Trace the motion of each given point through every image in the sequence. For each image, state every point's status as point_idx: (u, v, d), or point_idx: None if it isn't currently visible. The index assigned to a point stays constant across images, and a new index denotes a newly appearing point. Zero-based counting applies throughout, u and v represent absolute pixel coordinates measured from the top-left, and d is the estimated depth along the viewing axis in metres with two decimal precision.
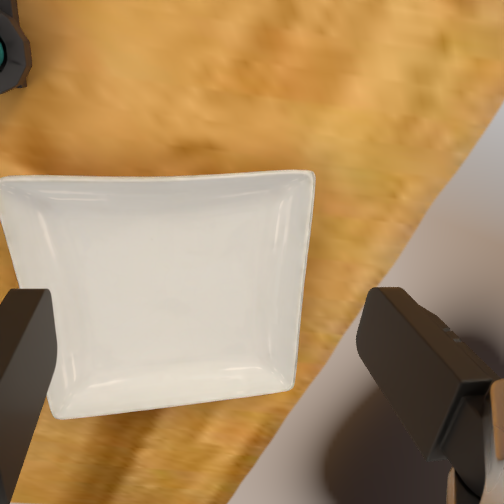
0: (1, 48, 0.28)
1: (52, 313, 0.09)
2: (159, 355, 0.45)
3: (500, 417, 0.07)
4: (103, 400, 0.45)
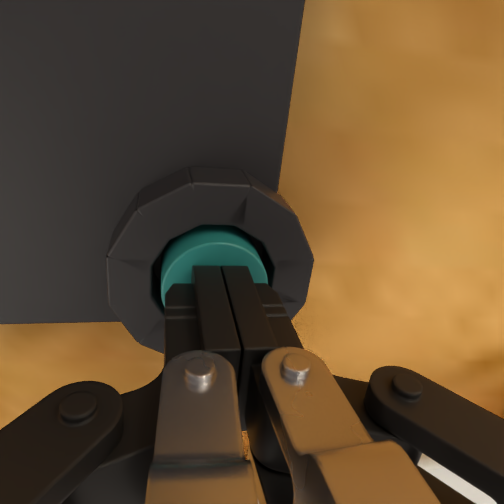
0: None
1: None
2: None
3: (281, 399, 0.06)
4: None
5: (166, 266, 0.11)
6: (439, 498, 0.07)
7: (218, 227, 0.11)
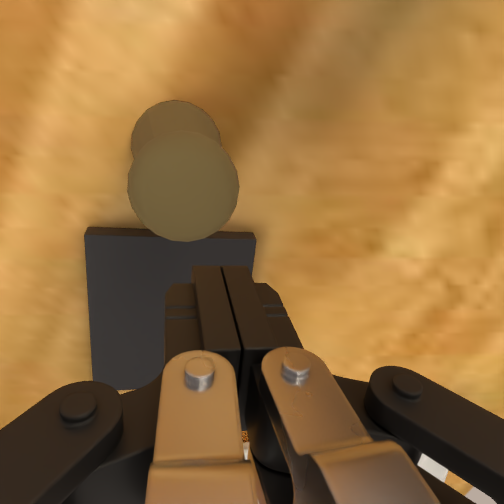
0: None
1: None
2: None
3: (281, 399, 0.06)
4: None
5: None
6: (439, 498, 0.07)
7: None
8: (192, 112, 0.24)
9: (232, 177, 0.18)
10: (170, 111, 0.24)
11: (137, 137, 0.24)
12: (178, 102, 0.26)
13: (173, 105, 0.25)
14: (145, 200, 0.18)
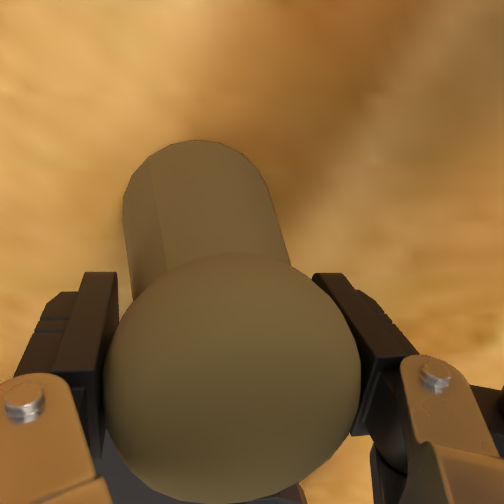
0: None
1: (117, 295, 0.10)
2: None
3: (413, 396, 0.07)
4: None
5: None
6: None
7: None
8: (229, 167, 0.14)
9: (357, 377, 0.07)
10: (191, 168, 0.13)
11: (131, 215, 0.13)
12: (202, 144, 0.15)
13: (195, 152, 0.14)
14: (145, 456, 0.07)
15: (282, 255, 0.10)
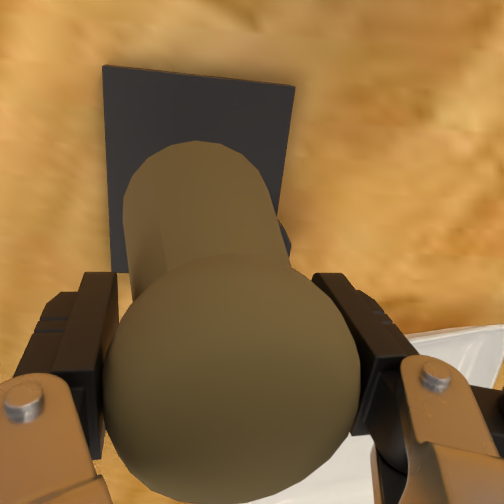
0: None
1: (117, 295, 0.10)
2: (327, 476, 0.47)
3: (413, 396, 0.07)
4: None
5: None
6: None
7: None
8: (229, 167, 0.14)
9: (357, 378, 0.07)
10: (191, 169, 0.13)
11: (131, 215, 0.13)
12: (202, 145, 0.15)
13: (195, 153, 0.14)
14: (145, 457, 0.07)
15: (282, 256, 0.10)
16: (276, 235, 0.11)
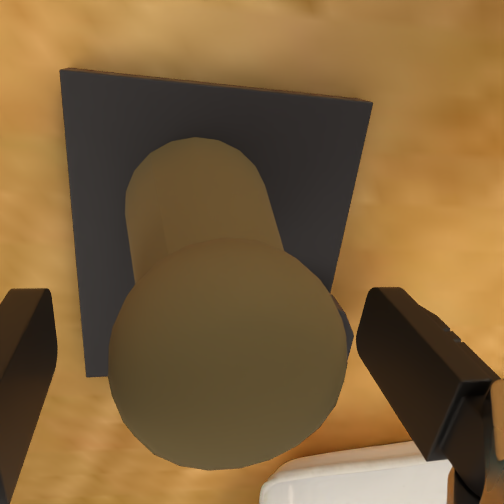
0: None
1: (52, 313, 0.09)
2: None
3: (500, 417, 0.07)
4: None
5: None
6: None
7: None
8: (227, 162, 0.14)
9: (342, 350, 0.08)
10: (190, 163, 0.14)
11: (133, 207, 0.14)
12: (201, 141, 0.16)
13: (194, 148, 0.15)
14: (148, 420, 0.07)
15: (276, 243, 0.11)
16: (271, 224, 0.12)
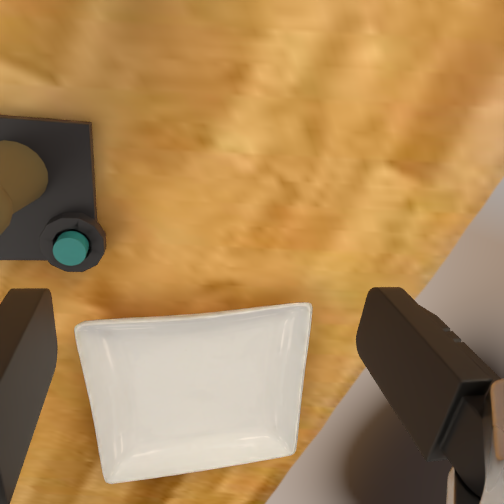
0: (88, 244, 0.40)
1: (52, 313, 0.09)
2: (188, 430, 0.57)
3: (500, 417, 0.07)
4: (143, 467, 0.56)
5: (54, 244, 0.38)
6: None
7: (71, 233, 0.39)
8: (8, 151, 0.34)
9: None
10: None
11: None
12: (5, 142, 0.36)
13: None
14: None
15: (4, 178, 0.31)
16: (10, 173, 0.32)
